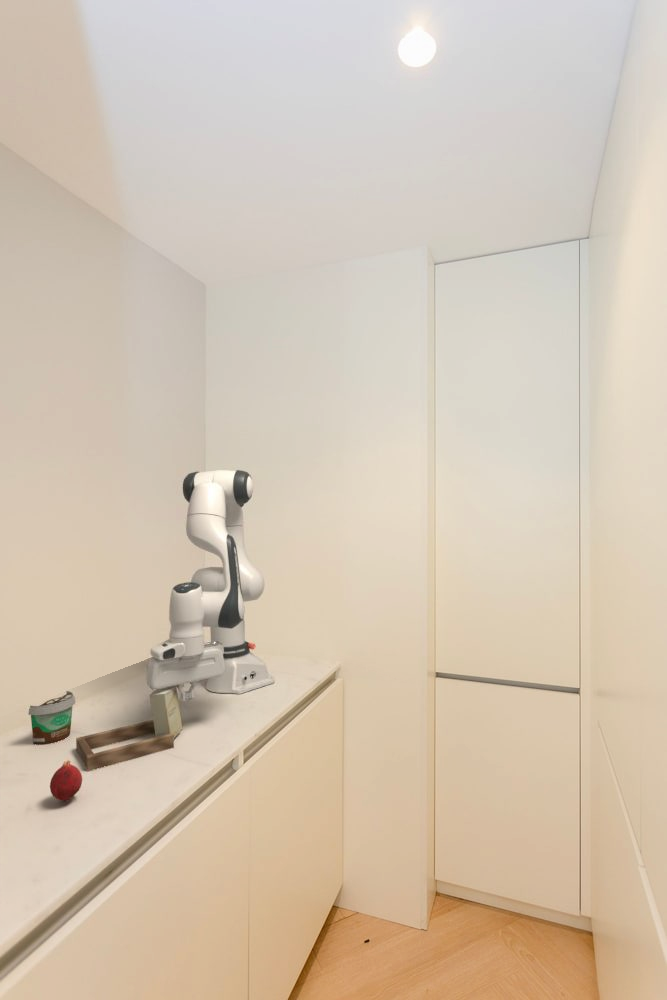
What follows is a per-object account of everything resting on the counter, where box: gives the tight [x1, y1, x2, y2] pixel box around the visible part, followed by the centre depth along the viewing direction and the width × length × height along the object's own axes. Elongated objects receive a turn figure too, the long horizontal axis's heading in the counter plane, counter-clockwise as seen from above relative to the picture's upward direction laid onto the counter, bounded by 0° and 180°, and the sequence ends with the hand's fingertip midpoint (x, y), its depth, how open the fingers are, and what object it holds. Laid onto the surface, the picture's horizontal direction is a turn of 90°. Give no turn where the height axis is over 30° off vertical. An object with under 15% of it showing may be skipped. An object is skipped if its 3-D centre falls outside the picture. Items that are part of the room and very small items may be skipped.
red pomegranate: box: [49, 759, 83, 803], centre depth 108 cm, size 6×6×8 cm
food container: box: [27, 690, 76, 746], centre depth 137 cm, size 12×6×10 cm, turn 160°
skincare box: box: [149, 685, 183, 739], centre depth 137 cm, size 6×4×12 cm
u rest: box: [75, 719, 175, 772], centre depth 131 cm, size 20×13×3 cm, turn 126°
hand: (187, 699), depth 140 cm, fingers closed
